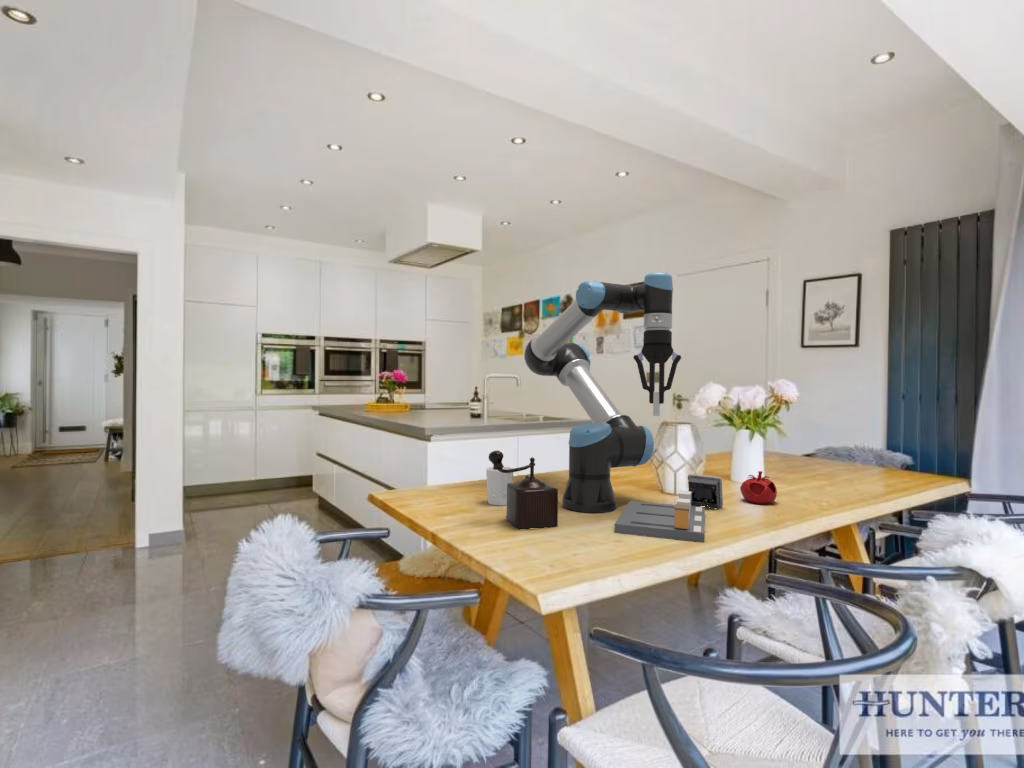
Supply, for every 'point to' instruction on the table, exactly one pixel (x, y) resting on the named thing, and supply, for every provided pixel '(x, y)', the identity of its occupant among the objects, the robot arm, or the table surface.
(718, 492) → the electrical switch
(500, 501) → the white cup
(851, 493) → the table surface
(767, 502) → the pomegranate
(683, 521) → the brown rectangular block
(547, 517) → the manual coffee grinder
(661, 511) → the grey slider board
